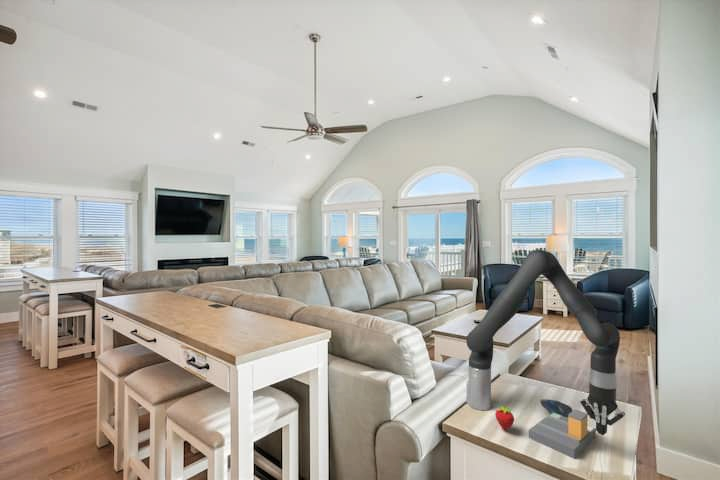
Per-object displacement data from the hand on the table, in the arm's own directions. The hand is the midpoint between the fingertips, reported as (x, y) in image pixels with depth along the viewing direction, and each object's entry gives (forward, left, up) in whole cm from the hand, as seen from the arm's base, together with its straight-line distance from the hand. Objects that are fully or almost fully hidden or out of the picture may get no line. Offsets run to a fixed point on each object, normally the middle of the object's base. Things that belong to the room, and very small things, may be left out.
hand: (601, 433), depth 119 cm
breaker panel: (-12, 0, -7) cm, 14 cm away
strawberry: (-28, -12, -7) cm, 31 cm away
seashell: (-21, +17, -7) cm, 28 cm away
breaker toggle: (-7, 0, -4) cm, 8 cm away
